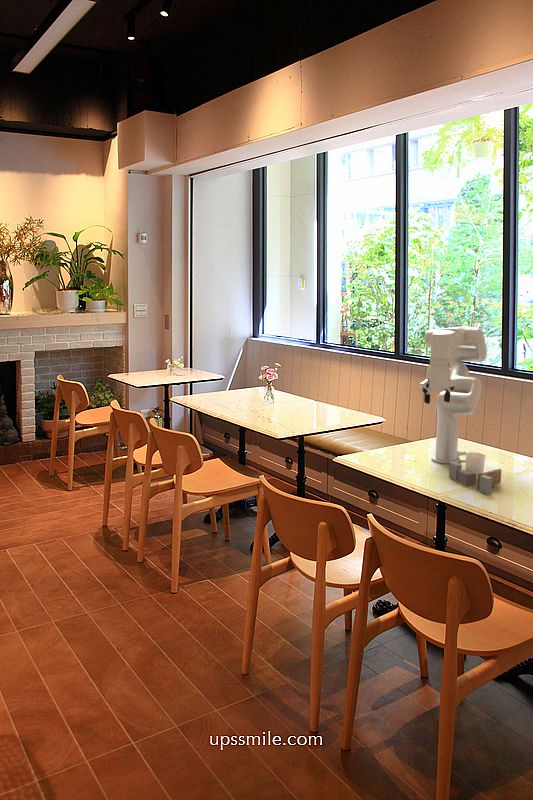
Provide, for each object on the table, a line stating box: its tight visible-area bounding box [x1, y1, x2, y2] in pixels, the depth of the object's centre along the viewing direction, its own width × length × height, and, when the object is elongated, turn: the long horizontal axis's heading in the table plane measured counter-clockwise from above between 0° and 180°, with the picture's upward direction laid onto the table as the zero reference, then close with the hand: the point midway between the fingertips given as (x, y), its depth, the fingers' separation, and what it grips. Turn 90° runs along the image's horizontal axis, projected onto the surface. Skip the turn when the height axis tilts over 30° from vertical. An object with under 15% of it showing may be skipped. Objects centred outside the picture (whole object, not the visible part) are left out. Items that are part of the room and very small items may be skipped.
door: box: [476, 468, 502, 491], centre depth 300 cm, size 2×14×6 cm, turn 127°
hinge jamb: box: [478, 475, 493, 496], centre depth 293 cm, size 2×5×6 cm, turn 21°
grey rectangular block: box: [456, 469, 477, 487], centre depth 305 cm, size 4×6×5 cm
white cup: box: [465, 451, 486, 481], centre depth 312 cm, size 8×8×10 cm
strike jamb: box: [448, 462, 462, 481], centre depth 311 cm, size 2×5×6 cm, turn 21°
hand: (436, 402), depth 316 cm, fingers open, 9 cm apart
